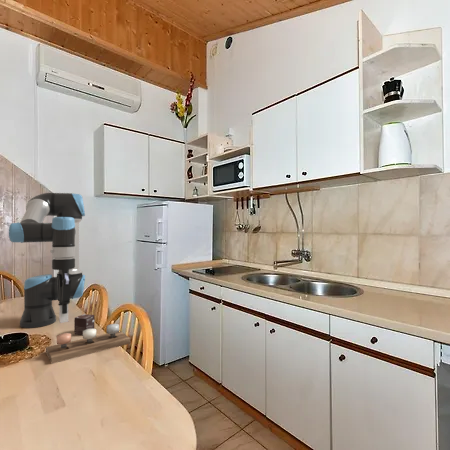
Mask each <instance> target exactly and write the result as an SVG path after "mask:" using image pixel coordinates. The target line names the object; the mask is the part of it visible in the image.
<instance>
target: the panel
mask: <svg viewBox="0 0 450 450" xmlns="http://www.w3.org/2000/svg"><path fill="white" fill-rule="evenodd" d="M119 331H120V332H117V333H115V337H110V334H108V333H107V332H106V333H103V334H98V335H97V334H96V337H95V338H92V342H91V343H87V339H83V338H81V339H76V340H71V342H69V343H67V347H66V348H61V344H57V343H56V344H53V345H50V346H46V347H45V354H46V355H47V358H48V359H49V362H50V363H51V364H55V363H59V362H64V361H67V360H71V359H74V358H79V357H82V356H87V355H90V354H94V353H98V352H101V351H106V350H110V349H113V348H118V347H122V346H125V345H129V344H131V337H130V336H128V335H127V334H125V333H124V332H123V331H121V330H119Z"/></svg>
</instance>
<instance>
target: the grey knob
mask: <svg viewBox="0 0 450 450" xmlns="http://www.w3.org/2000/svg"><path fill="white" fill-rule="evenodd" d="M119 331H120V324H118V323H111V324H107V325H106V333H108V334H110V337H115V333H117V332H119Z"/></svg>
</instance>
